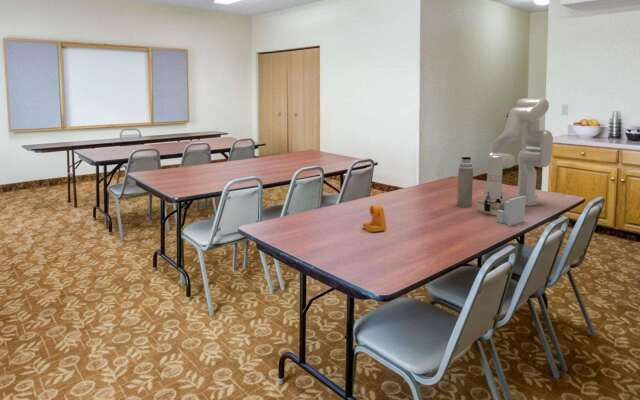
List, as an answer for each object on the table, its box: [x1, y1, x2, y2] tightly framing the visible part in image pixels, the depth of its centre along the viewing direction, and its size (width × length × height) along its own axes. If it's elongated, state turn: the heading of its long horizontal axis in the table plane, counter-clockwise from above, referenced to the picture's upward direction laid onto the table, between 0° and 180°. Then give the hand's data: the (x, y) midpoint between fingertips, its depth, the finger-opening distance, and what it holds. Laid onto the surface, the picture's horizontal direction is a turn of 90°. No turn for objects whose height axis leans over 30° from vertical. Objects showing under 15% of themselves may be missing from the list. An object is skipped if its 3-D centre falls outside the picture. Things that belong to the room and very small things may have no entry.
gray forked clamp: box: [496, 196, 526, 227], centre depth 249 cm, size 8×13×13 cm, turn 128°
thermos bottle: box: [456, 156, 474, 208], centre depth 283 cm, size 8×8×28 cm
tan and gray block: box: [477, 199, 505, 216], centre depth 267 cm, size 5×16×6 cm, turn 38°
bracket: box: [362, 204, 387, 233], centre depth 240 cm, size 11×7×12 cm
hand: (492, 209), depth 267 cm, fingers open, 9 cm apart
